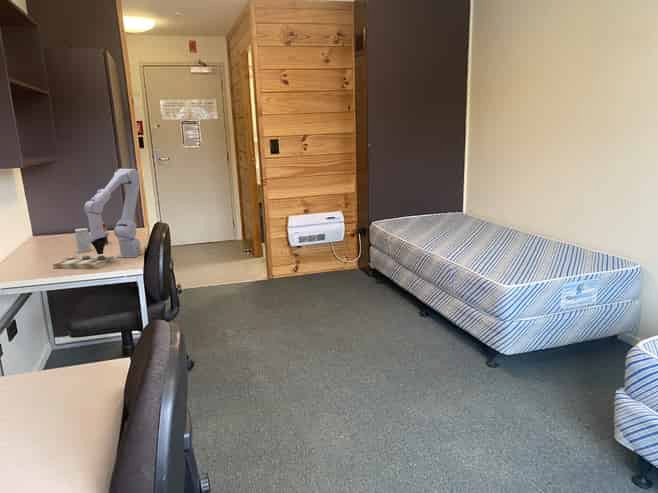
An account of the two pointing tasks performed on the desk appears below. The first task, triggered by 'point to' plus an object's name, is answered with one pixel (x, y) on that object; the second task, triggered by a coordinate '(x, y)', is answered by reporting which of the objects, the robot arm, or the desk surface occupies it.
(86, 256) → the middle button
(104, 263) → the button board
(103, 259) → the button
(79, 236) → the skincare box
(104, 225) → the soda can
